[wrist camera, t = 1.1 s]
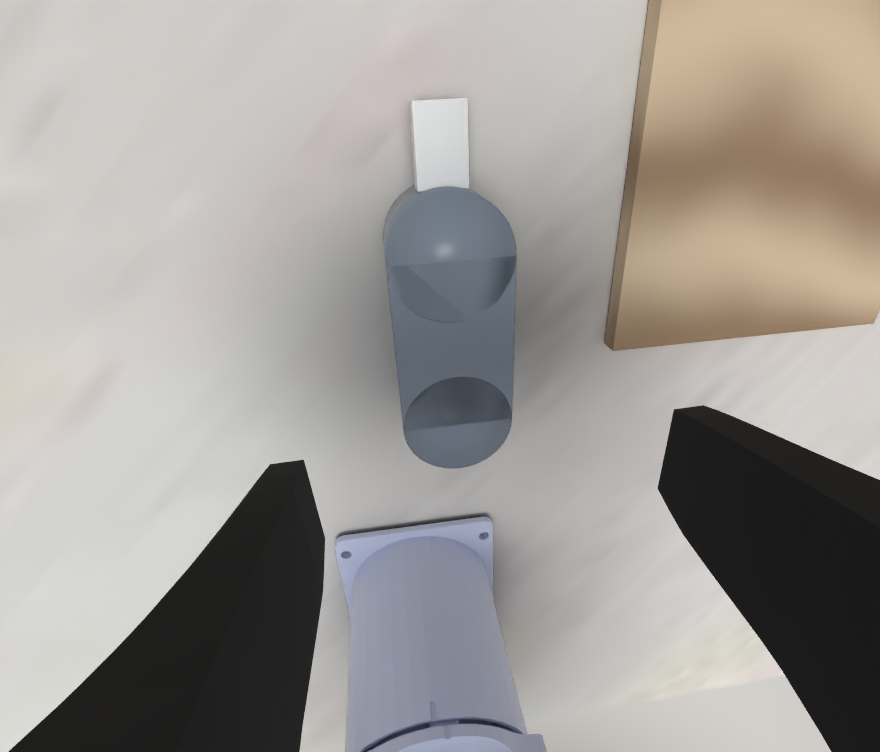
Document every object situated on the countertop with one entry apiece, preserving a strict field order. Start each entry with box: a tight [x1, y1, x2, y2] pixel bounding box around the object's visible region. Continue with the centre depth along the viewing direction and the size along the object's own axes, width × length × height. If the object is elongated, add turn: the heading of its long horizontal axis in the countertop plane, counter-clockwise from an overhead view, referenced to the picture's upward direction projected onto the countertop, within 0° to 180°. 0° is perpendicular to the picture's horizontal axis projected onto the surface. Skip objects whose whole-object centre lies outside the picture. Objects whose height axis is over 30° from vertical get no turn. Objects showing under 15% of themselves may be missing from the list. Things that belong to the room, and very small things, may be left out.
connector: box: [383, 98, 516, 468], centre depth 17 cm, size 12×4×4 cm, turn 3°
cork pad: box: [605, 0, 880, 351], centre depth 17 cm, size 12×12×1 cm
